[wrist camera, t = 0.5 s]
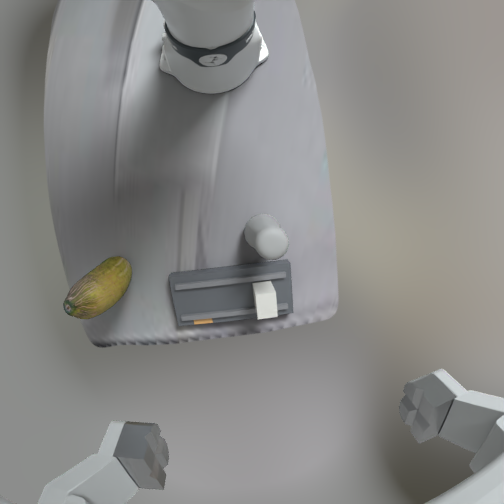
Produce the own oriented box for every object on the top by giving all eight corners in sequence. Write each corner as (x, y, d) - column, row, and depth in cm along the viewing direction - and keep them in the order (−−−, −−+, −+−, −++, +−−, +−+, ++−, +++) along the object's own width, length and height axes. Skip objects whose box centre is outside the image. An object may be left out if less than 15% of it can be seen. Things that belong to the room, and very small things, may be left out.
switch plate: (171, 272, 48) (167, 278, 45) (287, 259, 49) (291, 264, 46) (180, 320, 50) (177, 328, 47) (290, 307, 51) (294, 314, 48)
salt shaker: (262, 254, 48) (274, 277, 36) (236, 231, 47) (239, 247, 35) (285, 228, 48) (305, 242, 35) (260, 205, 47) (271, 211, 34)
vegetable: (144, 260, 47) (97, 304, 27) (135, 291, 48) (89, 347, 28) (114, 247, 46) (54, 282, 27) (106, 278, 47) (49, 326, 28)
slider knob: (252, 282, 46) (255, 294, 41) (270, 280, 47) (275, 292, 41) (254, 305, 47) (257, 319, 42) (272, 303, 48) (277, 316, 42)
